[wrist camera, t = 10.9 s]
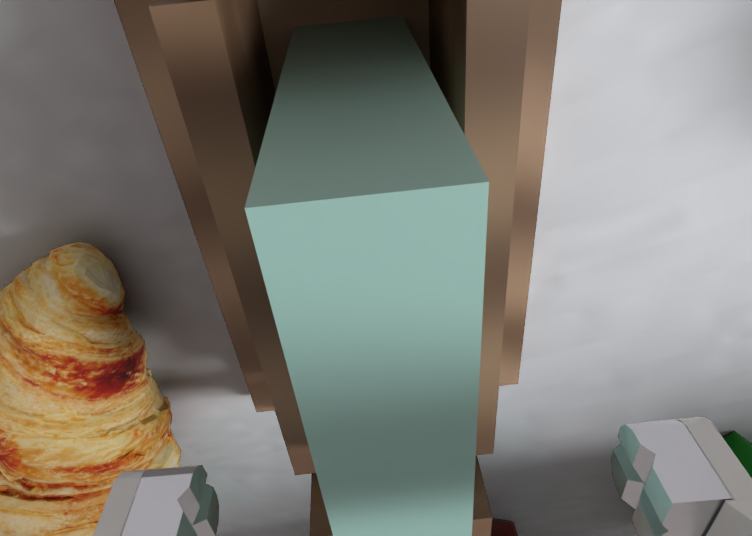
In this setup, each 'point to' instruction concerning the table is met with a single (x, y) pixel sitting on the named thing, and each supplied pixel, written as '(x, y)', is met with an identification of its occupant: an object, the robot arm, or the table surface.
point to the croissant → (72, 395)
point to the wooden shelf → (247, 129)
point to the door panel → (375, 275)
